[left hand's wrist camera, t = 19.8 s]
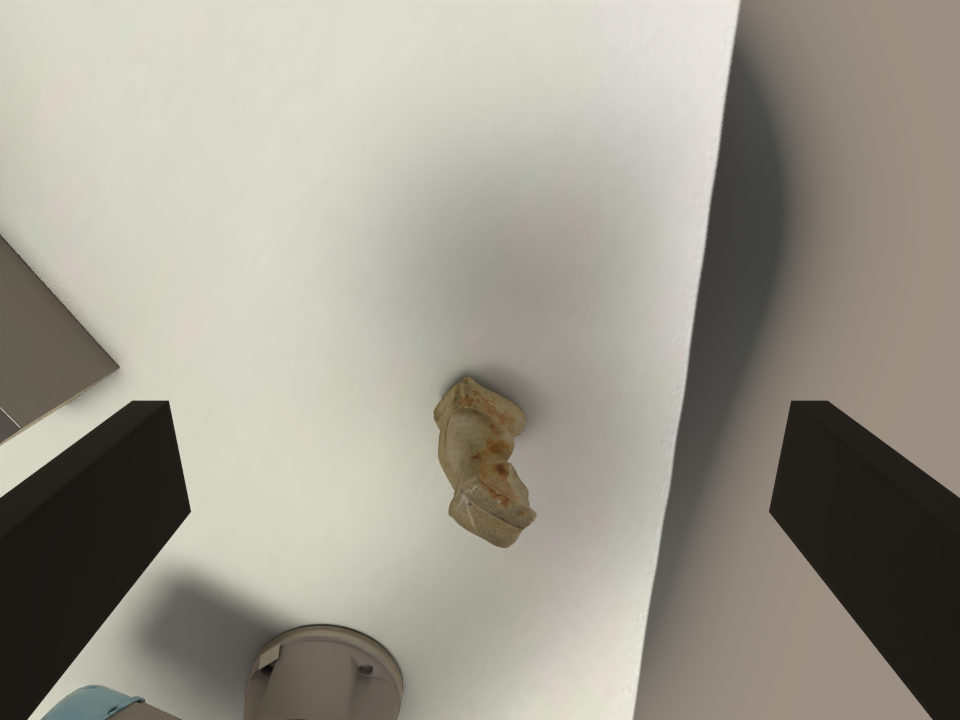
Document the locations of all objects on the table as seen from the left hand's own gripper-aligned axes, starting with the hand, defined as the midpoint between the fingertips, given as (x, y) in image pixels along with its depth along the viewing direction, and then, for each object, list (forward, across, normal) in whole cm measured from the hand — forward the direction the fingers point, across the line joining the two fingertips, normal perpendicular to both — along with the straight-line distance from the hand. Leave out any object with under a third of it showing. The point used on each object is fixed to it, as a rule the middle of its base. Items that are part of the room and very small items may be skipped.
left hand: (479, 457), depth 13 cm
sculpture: (+34, 0, +14) cm, 37 cm away
